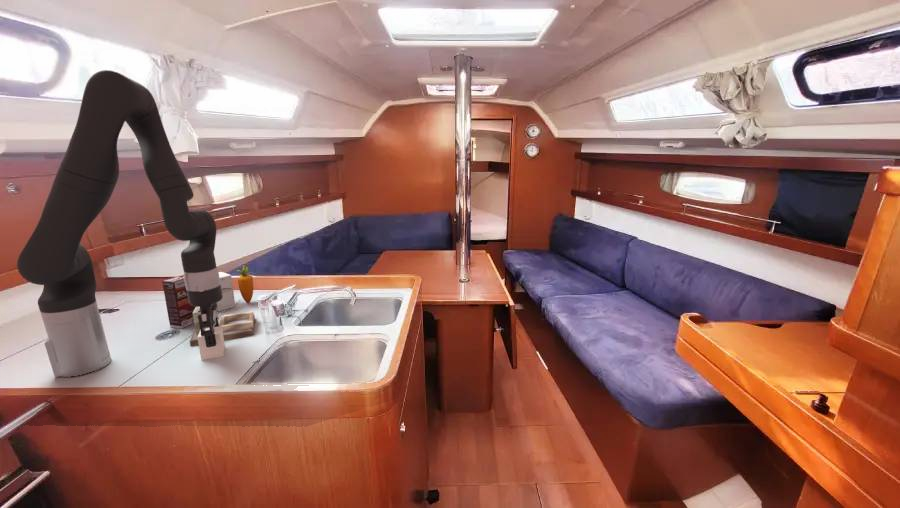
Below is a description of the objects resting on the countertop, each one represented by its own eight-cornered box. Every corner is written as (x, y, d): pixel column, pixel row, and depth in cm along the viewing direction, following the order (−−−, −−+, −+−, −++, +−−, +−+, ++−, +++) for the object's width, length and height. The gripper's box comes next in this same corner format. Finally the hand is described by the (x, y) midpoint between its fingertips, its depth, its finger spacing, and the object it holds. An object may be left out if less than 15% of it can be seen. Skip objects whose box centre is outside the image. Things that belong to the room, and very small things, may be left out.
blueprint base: (190, 346, 97) (185, 319, 95) (198, 327, 108) (194, 302, 106) (253, 334, 104) (250, 309, 102) (254, 318, 115) (251, 295, 113)
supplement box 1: (181, 329, 107) (173, 282, 103) (169, 327, 107) (160, 281, 103) (206, 317, 115) (198, 274, 111) (194, 316, 116) (186, 273, 112)
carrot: (251, 306, 125) (246, 268, 121) (238, 305, 125) (232, 268, 121) (258, 301, 130) (254, 264, 126) (246, 300, 130) (241, 264, 126)
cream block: (201, 360, 90) (197, 337, 89) (204, 351, 95) (200, 329, 93) (223, 356, 93) (219, 333, 91) (225, 347, 97) (221, 325, 95)
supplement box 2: (214, 313, 118) (209, 280, 115) (204, 308, 122) (199, 275, 119) (236, 306, 124) (231, 274, 121) (226, 301, 128) (221, 271, 125)
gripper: (191, 279, 93) (201, 331, 97) (180, 296, 81) (192, 354, 85) (222, 275, 97) (231, 325, 101) (217, 291, 85) (227, 347, 89)
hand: (213, 339), depth 93 cm, fingers open, 8 cm apart
